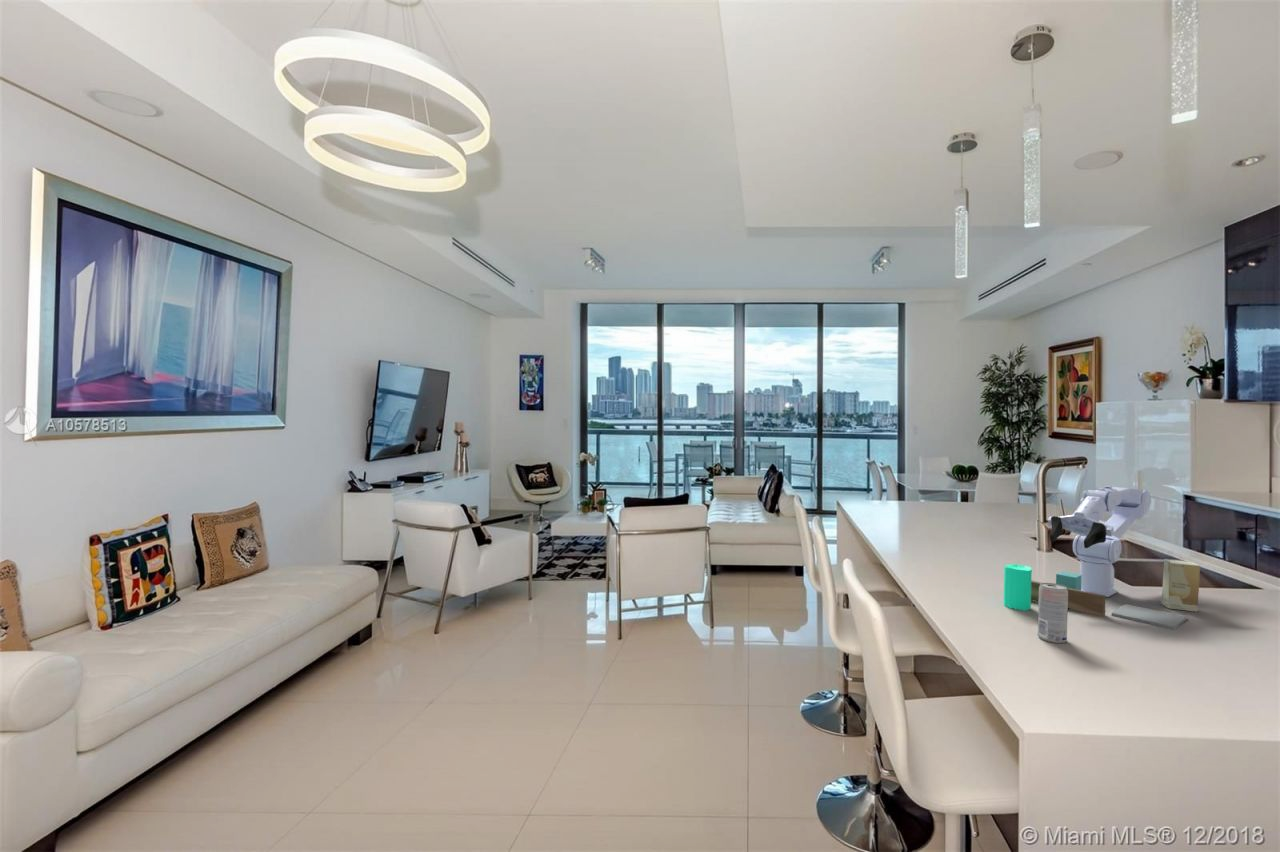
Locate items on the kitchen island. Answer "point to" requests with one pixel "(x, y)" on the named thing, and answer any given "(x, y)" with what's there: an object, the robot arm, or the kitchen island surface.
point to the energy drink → (1053, 612)
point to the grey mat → (1149, 616)
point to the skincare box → (1180, 585)
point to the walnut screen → (1077, 600)
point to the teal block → (1069, 580)
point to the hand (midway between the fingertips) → (1068, 541)
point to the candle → (1017, 586)
